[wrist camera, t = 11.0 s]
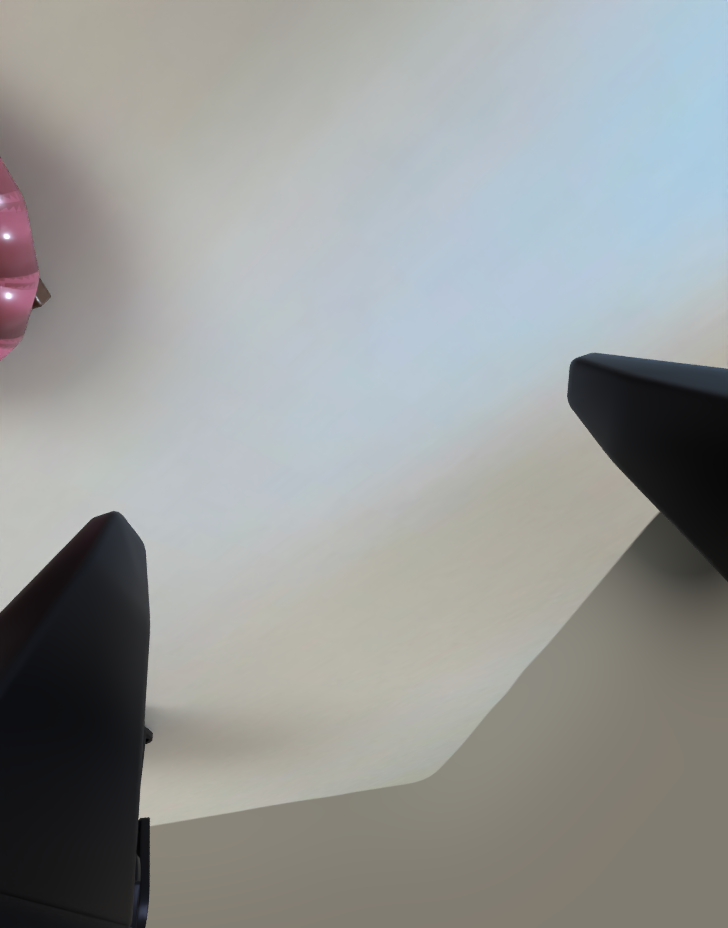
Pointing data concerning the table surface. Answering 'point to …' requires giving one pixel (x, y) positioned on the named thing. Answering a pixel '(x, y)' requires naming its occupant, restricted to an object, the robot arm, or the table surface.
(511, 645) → the table surface
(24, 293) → the ring
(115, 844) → the robot arm
